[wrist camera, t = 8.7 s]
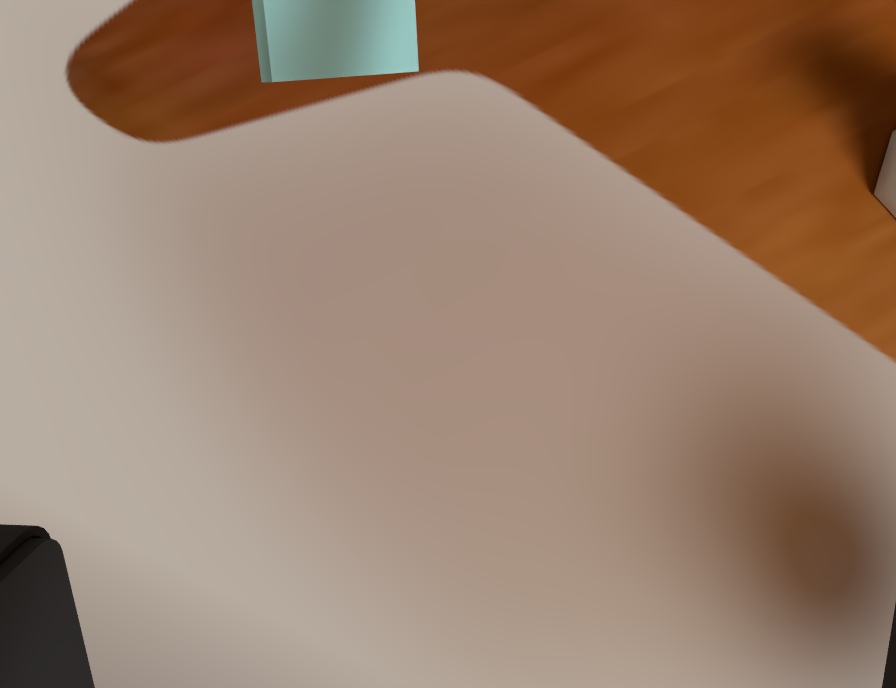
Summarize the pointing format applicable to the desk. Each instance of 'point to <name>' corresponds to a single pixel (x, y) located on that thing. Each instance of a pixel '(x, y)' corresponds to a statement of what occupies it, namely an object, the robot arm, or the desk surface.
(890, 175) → the flask
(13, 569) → the robot arm
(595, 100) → the desk surface
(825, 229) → the desk surface
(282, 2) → the lever
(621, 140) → the desk surface
